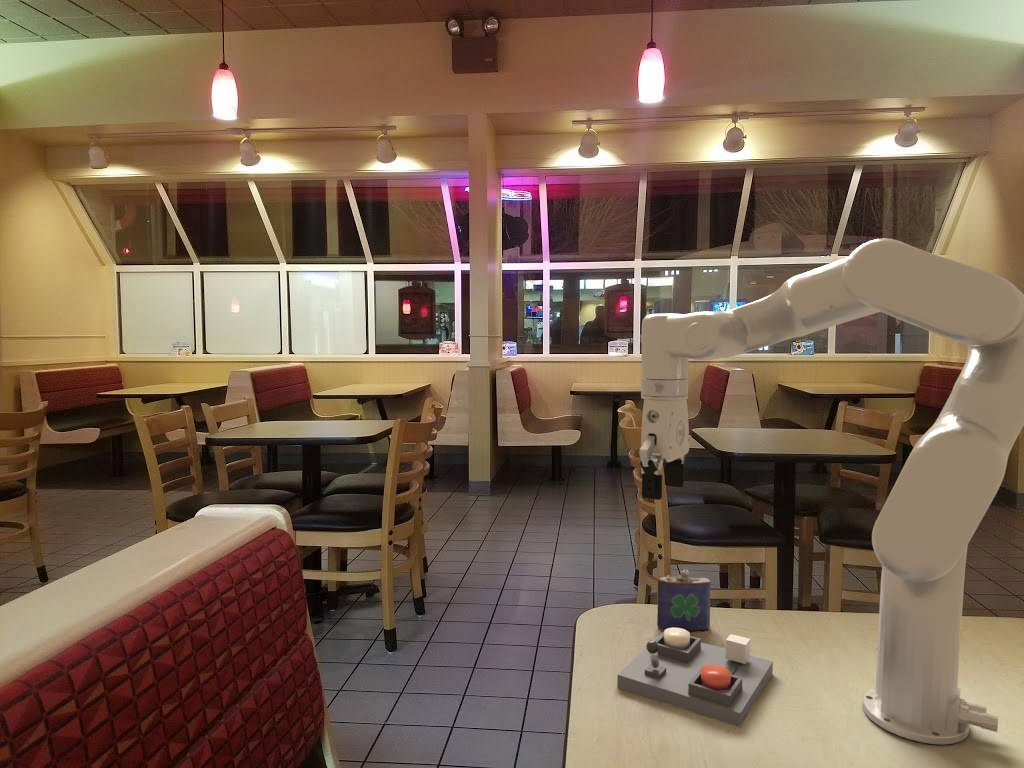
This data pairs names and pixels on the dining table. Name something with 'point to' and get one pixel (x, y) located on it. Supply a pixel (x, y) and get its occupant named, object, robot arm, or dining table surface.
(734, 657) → the beige cube
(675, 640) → the ivory button
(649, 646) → the toggle lever
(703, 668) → the red button
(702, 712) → the panel
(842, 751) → the dining table surface
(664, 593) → the flask
